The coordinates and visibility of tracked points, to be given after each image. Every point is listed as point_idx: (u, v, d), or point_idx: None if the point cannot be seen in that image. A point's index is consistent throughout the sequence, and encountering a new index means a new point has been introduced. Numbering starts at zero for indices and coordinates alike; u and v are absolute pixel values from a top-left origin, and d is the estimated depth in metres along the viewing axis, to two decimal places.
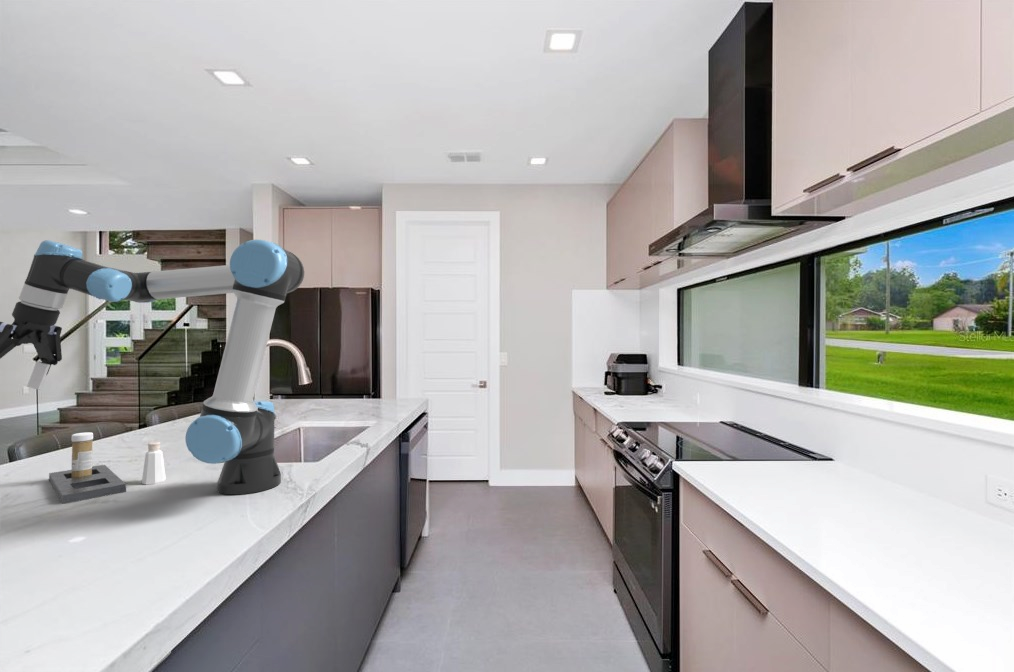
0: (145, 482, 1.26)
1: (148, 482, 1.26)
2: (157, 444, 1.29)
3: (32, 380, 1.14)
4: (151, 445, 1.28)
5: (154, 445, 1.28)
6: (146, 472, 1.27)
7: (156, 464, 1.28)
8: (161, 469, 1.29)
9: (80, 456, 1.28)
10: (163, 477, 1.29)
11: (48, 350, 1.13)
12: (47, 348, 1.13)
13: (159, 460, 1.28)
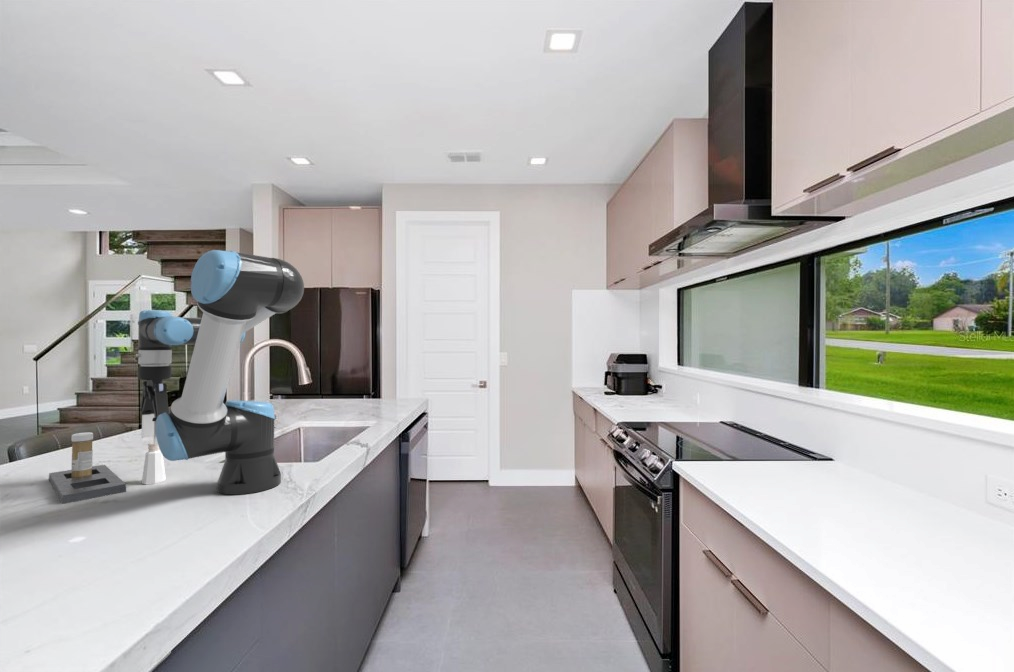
0: (145, 482, 1.26)
1: (148, 482, 1.26)
2: None
3: (145, 431, 1.33)
4: (151, 445, 1.28)
5: (154, 445, 1.28)
6: (146, 472, 1.27)
7: (156, 464, 1.28)
8: (161, 469, 1.29)
9: (80, 456, 1.28)
10: (163, 477, 1.29)
11: None
12: None
13: (159, 460, 1.28)
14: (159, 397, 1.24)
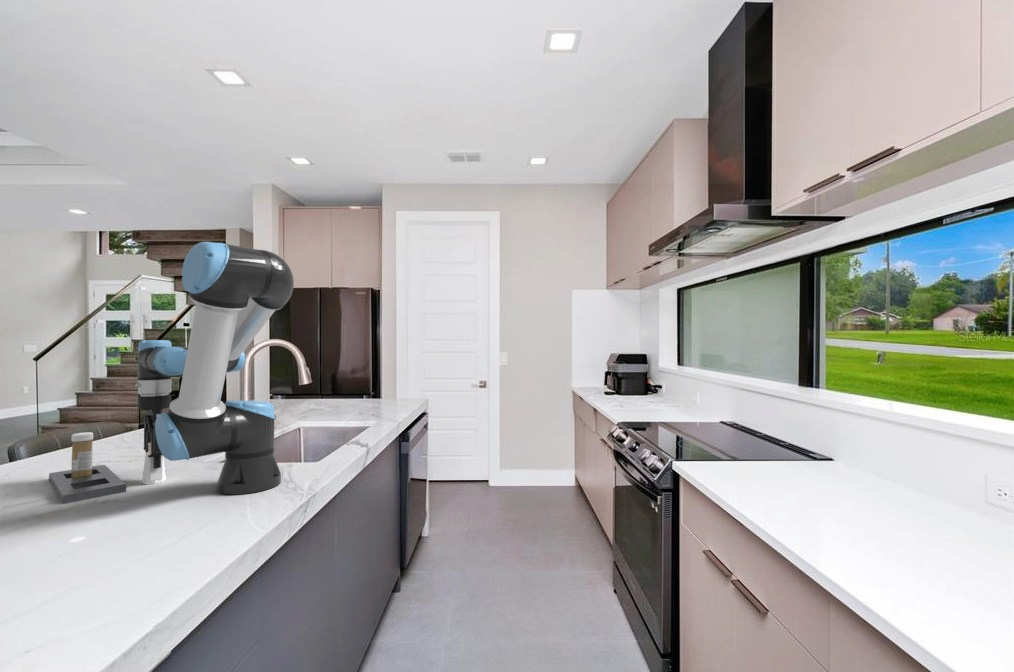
0: (145, 482, 1.26)
1: (148, 482, 1.26)
2: None
3: None
4: None
5: None
6: (146, 472, 1.27)
7: None
8: None
9: (80, 456, 1.28)
10: (163, 477, 1.29)
11: None
12: None
13: None
14: None
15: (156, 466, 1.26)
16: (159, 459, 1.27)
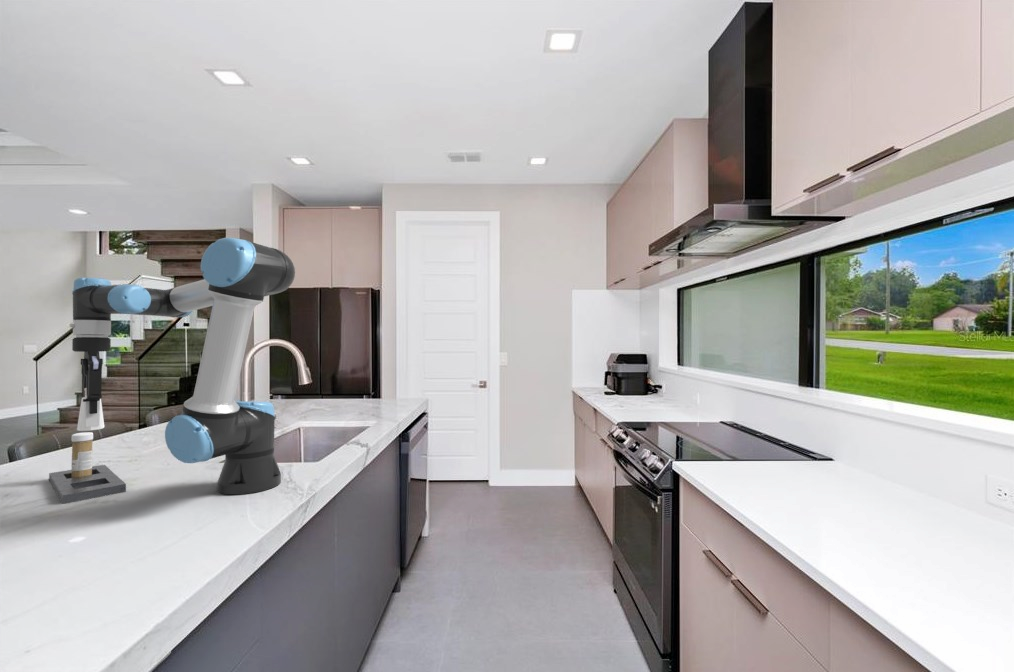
0: (80, 428, 1.19)
1: (83, 428, 1.19)
2: None
3: None
4: None
5: None
6: (81, 418, 1.19)
7: None
8: None
9: (80, 456, 1.28)
10: (101, 424, 1.22)
11: None
12: None
13: None
14: (93, 376, 1.17)
15: (92, 411, 1.19)
16: (95, 404, 1.19)
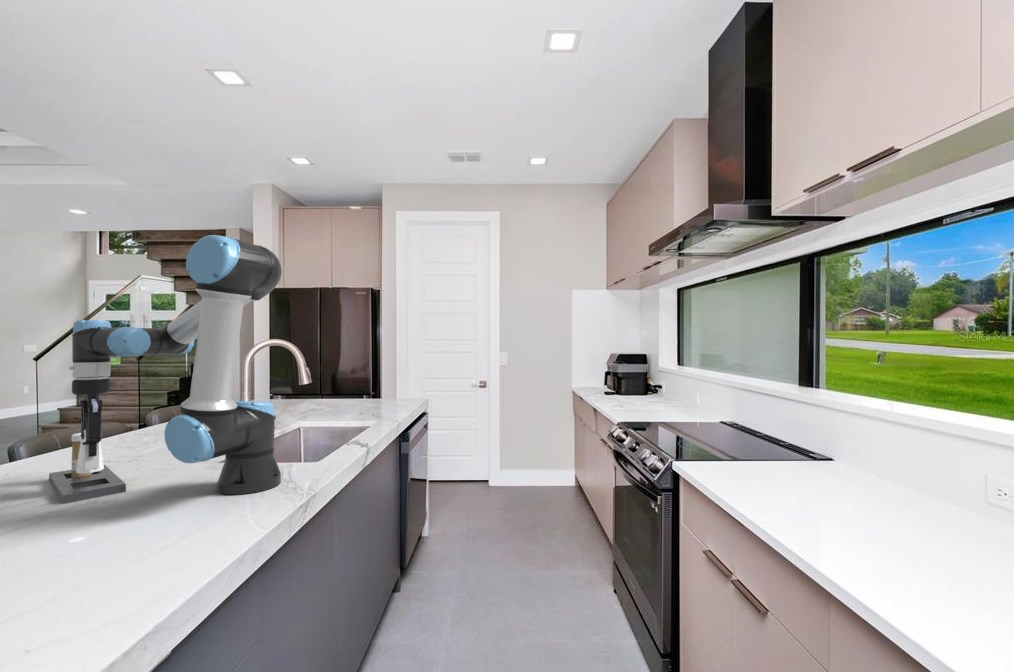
0: (79, 471, 1.18)
1: (83, 471, 1.18)
2: None
3: None
4: None
5: None
6: (81, 460, 1.19)
7: None
8: None
9: None
10: (100, 466, 1.21)
11: None
12: None
13: None
14: (92, 419, 1.17)
15: (91, 454, 1.18)
16: (95, 447, 1.19)
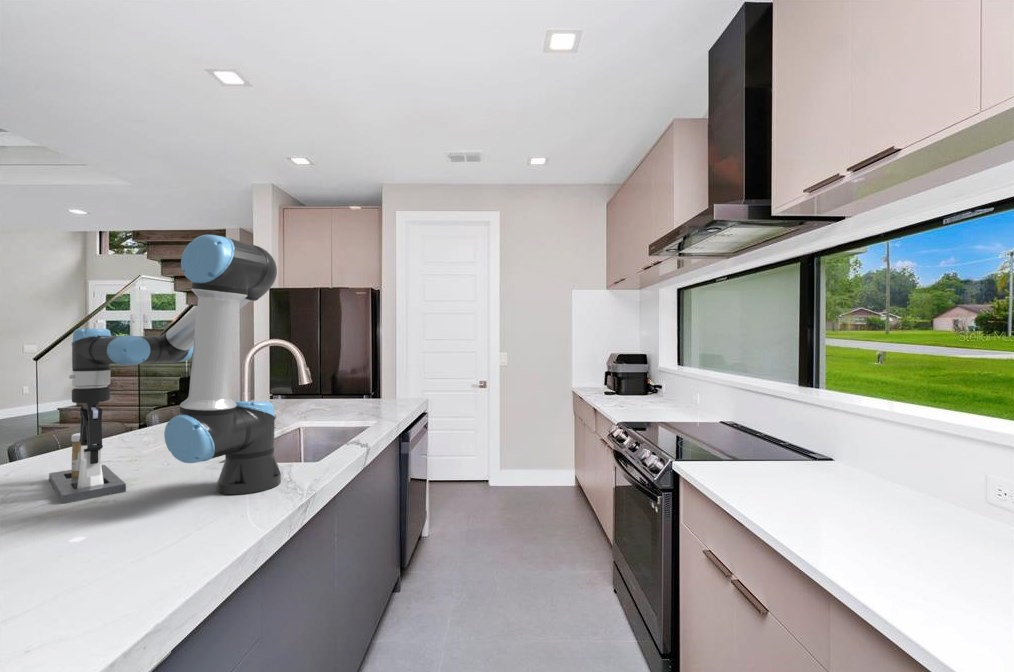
0: None
1: None
2: None
3: None
4: None
5: None
6: (81, 481, 1.19)
7: None
8: (98, 477, 1.21)
9: (80, 456, 1.28)
10: None
11: None
12: None
13: None
14: (93, 425, 1.16)
15: (93, 461, 1.17)
16: (96, 454, 1.17)
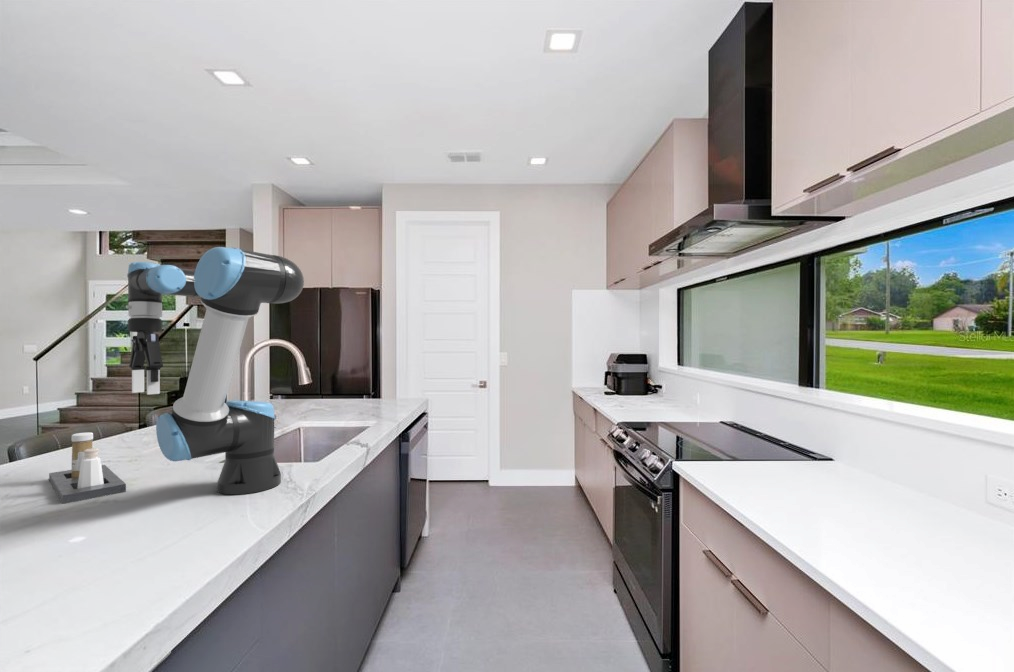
0: None
1: None
2: (94, 451, 1.21)
3: (135, 386, 1.32)
4: (87, 452, 1.20)
5: (90, 452, 1.20)
6: (81, 481, 1.19)
7: (92, 472, 1.20)
8: (98, 478, 1.21)
9: (80, 456, 1.28)
10: None
11: None
12: None
13: (96, 468, 1.20)
14: (152, 346, 1.24)
15: (153, 379, 1.24)
16: (156, 373, 1.24)
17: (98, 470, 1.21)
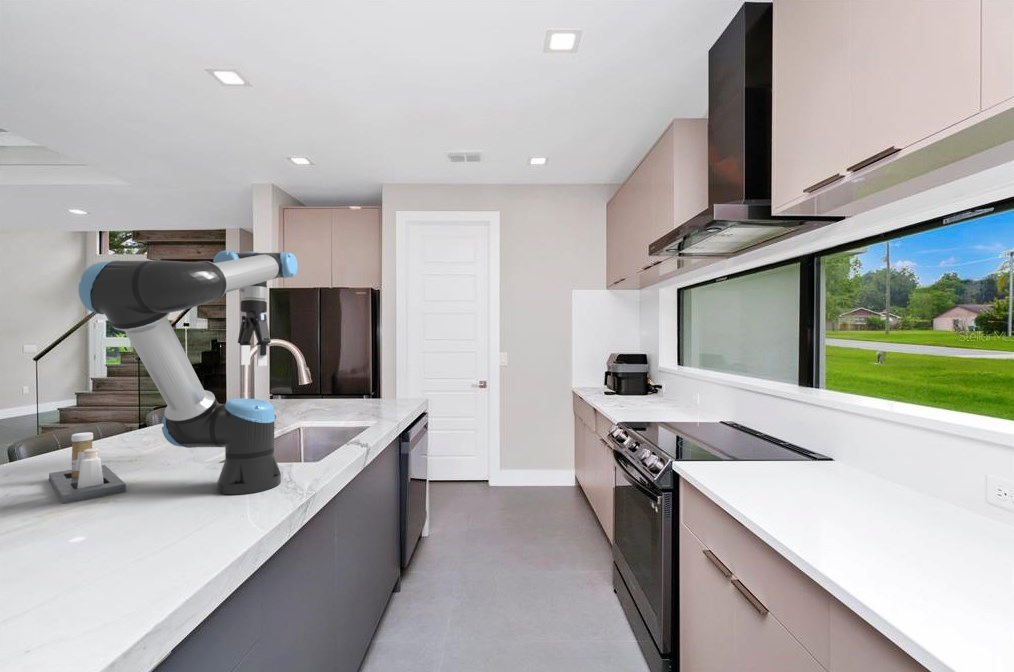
0: None
1: None
2: (94, 451, 1.20)
3: (243, 359, 1.53)
4: (87, 452, 1.20)
5: (90, 452, 1.20)
6: (81, 481, 1.19)
7: (92, 472, 1.20)
8: (98, 478, 1.21)
9: (80, 456, 1.28)
10: None
11: None
12: None
13: (96, 468, 1.20)
14: (262, 325, 1.44)
15: (263, 353, 1.44)
16: (265, 348, 1.44)
17: (98, 470, 1.21)
